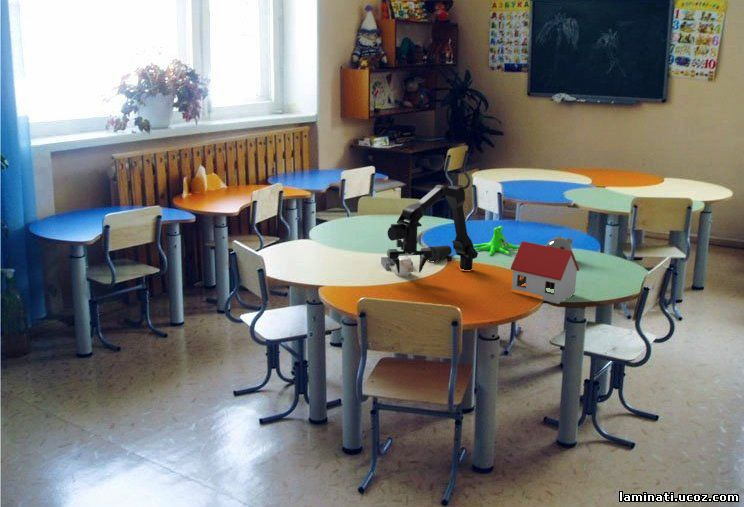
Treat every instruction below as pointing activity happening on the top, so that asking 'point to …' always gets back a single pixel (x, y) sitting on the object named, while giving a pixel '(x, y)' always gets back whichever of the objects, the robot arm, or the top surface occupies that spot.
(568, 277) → the house model
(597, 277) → the top surface
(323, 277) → the top surface
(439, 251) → the drinking cup
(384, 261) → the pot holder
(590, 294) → the top surface
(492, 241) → the toy octopus
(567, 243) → the piggy bank
